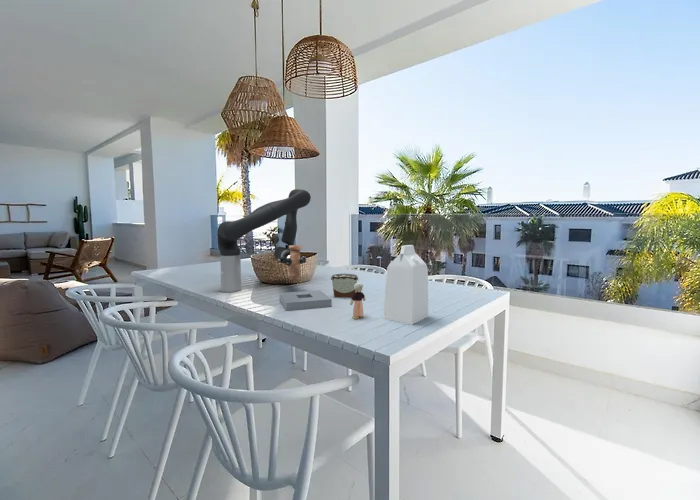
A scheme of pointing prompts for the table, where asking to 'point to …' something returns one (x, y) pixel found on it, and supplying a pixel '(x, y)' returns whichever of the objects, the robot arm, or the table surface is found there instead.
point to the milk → (406, 288)
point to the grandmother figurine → (358, 301)
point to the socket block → (304, 300)
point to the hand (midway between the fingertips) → (296, 261)
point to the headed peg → (295, 262)
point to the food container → (344, 285)
